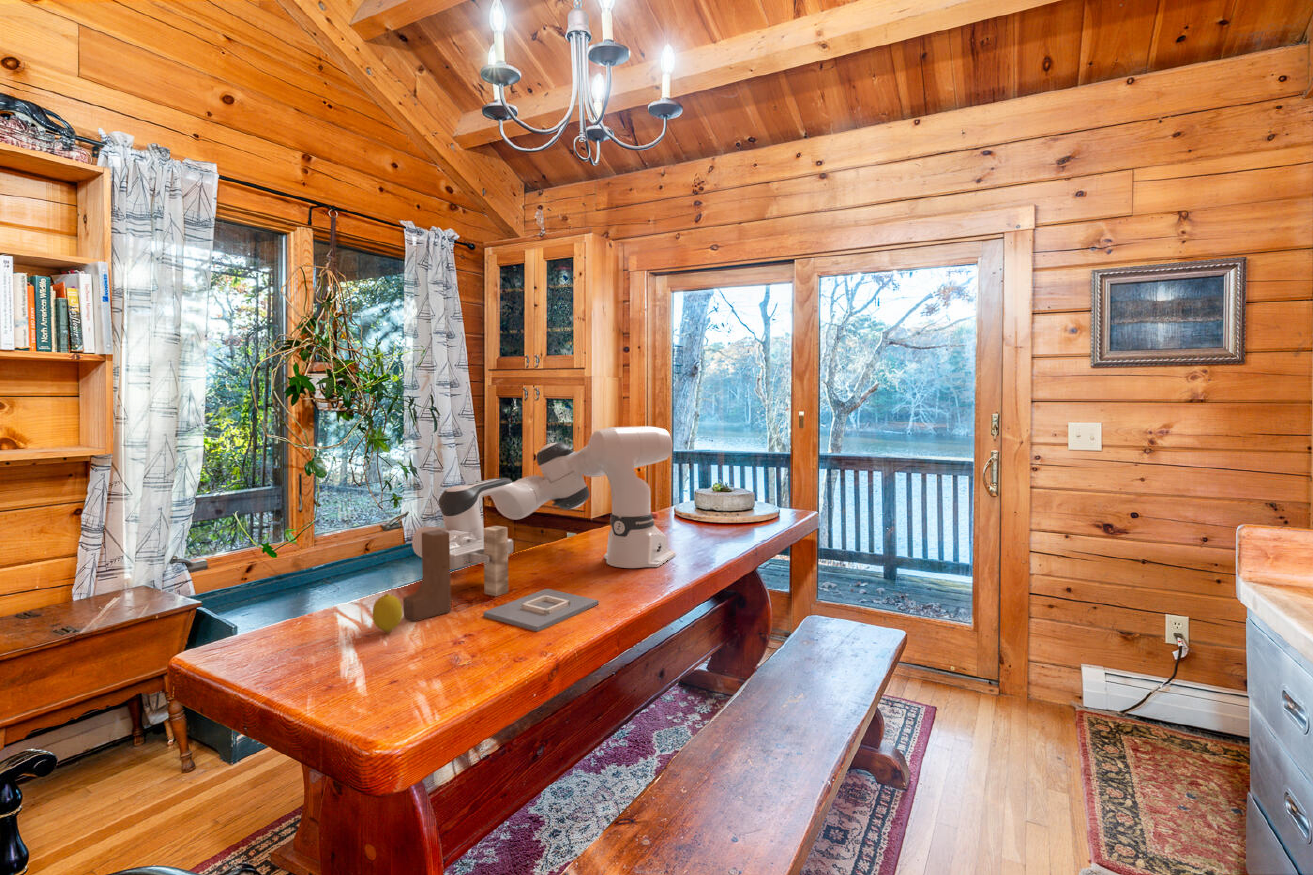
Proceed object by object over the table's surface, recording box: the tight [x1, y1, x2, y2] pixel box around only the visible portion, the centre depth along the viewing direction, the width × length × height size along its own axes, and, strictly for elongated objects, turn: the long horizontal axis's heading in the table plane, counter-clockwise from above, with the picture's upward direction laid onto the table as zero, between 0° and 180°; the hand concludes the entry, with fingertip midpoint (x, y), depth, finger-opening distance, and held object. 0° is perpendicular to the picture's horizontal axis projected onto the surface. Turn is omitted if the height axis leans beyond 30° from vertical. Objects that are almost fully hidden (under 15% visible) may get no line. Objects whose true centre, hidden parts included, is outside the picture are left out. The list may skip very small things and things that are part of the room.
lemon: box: [372, 593, 403, 634], centre depth 129 cm, size 6×6×8 cm
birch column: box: [483, 525, 509, 597], centre depth 155 cm, size 4×4×16 cm
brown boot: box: [402, 530, 452, 623], centre depth 139 cm, size 9×4×18 cm, turn 137°
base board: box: [482, 588, 600, 633], centre depth 143 cm, size 20×16×2 cm
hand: (498, 556), depth 154 cm, fingers closed on birch column, 4 cm apart
